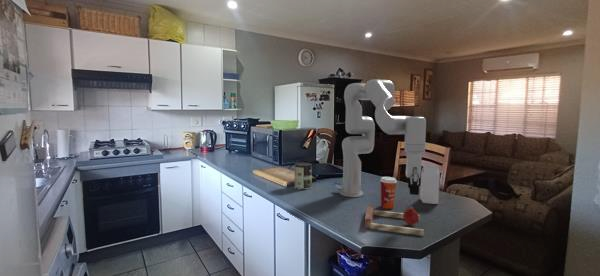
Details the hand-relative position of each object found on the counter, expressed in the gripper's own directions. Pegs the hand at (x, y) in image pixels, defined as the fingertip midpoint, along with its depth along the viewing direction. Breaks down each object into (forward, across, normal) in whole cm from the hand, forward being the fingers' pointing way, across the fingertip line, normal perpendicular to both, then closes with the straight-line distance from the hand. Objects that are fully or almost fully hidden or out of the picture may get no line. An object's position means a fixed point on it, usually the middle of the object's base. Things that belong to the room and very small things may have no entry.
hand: (413, 191), depth 113 cm
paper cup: (+14, -21, -10) cm, 27 cm away
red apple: (+15, -1, 0) cm, 15 cm away
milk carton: (+14, -36, +10) cm, 40 cm away
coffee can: (+13, -40, -58) cm, 71 cm away
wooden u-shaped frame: (+14, -1, -6) cm, 16 cm away
